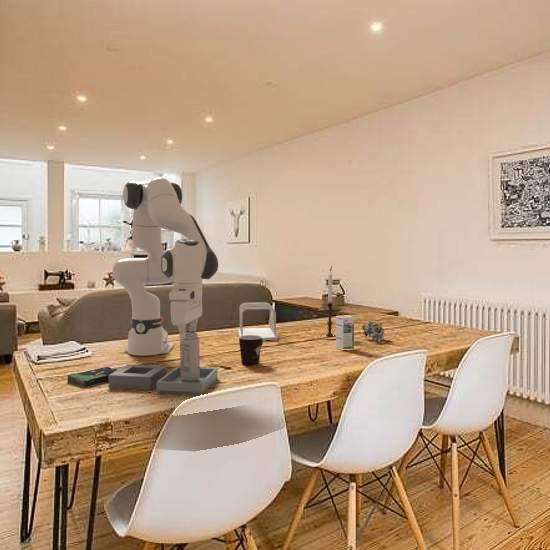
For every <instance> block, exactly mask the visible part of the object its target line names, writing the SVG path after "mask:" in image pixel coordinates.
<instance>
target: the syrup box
mask: <svg viewBox="0 0 550 550" xmlns="http://www.w3.org/2000/svg"><path fill="white" fill-rule="evenodd" d="M335 335H336V340H335V348H336V347H337V348H340V349H355V317H354V316H353V315H350V314H345V315H336V316H335Z"/></svg>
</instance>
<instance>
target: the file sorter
mask: <svg viewBox="0 0 550 550" xmlns="http://www.w3.org/2000/svg"><path fill="white" fill-rule="evenodd" d="M238 308H239V315H238V317H239V328H238V329H237V332H238V338H239V337H240V336H245V335H257V336H261V337H262V340H263V342H267V341H266V340H278V336H277V311H276V309H274V307H273V306H272V305H271V304H270V303H268V302H243V303H241V304H240V305H239V307H238ZM249 310H251V311H252V310H253V311H254V310H269V327H249V328H247V327H245V328H243V327H244V323H243V321H244V320H243V318H244V317H243V316H244V312H245V311H249ZM278 341H279V340H278Z"/></svg>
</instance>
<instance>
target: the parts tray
mask: <svg viewBox="0 0 550 550" xmlns="http://www.w3.org/2000/svg"><path fill="white" fill-rule="evenodd" d="M218 369H219V368H216V367H215V368H212V367H211V368H210V367H209V368H208V367H200V378H199V379H198V381H196V382H192V383H186V382H183V381H182V379H181V366H176V367H174V368H173V369H172V370H171V371H169V372H168V373H167V375H165V376H164V377H162V378H161V379H160V380H158V381H157V382H156V386H155V387H156V388H155V389H156V394H158V393H167V394H166V395H178V394H185V395H184V396H198V395H201V394H203V393H204V394H205V393H206V392H207V391H208V390H209V389H210V388H211V387H212V386H213V384H214V383H215V382H217V380H218V379H219V378H218V373H219V372H218ZM209 387H210V388H209ZM208 388H209V389H208ZM207 389H208V390H207ZM204 394H203V395H204Z"/></svg>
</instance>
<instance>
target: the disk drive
mask: <svg viewBox="0 0 550 550" xmlns="http://www.w3.org/2000/svg"><path fill="white" fill-rule="evenodd" d="M117 370H119V369H117V368H112V367H109V366H104V367H100V368H99V367H98V368H95V369H94V368H93V369H91V370H86V371H81V372H76V373H73V374H68V375H67V383H69V384H73V385H75V384H76V386H78V385H79V387H81V386H82V388H88V386H89V387H92V386H97V385H100V384H104V383H109V375H110V374H111V373H113V372H115V371H117Z"/></svg>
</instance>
